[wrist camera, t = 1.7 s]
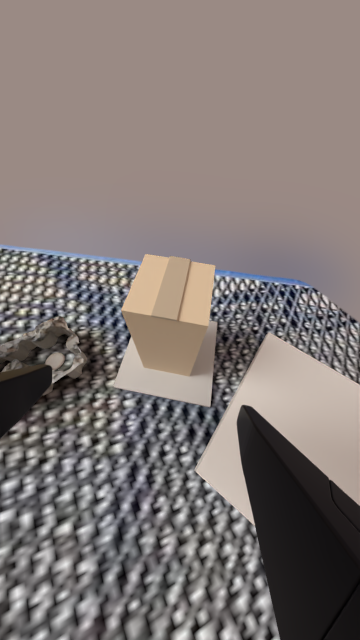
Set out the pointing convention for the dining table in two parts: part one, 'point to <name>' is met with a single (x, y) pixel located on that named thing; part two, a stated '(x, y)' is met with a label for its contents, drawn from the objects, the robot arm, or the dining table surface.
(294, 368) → the off-white pad
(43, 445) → the dining table surface
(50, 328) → the egg carton
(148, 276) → the kraft carton
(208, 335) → the grey mat
